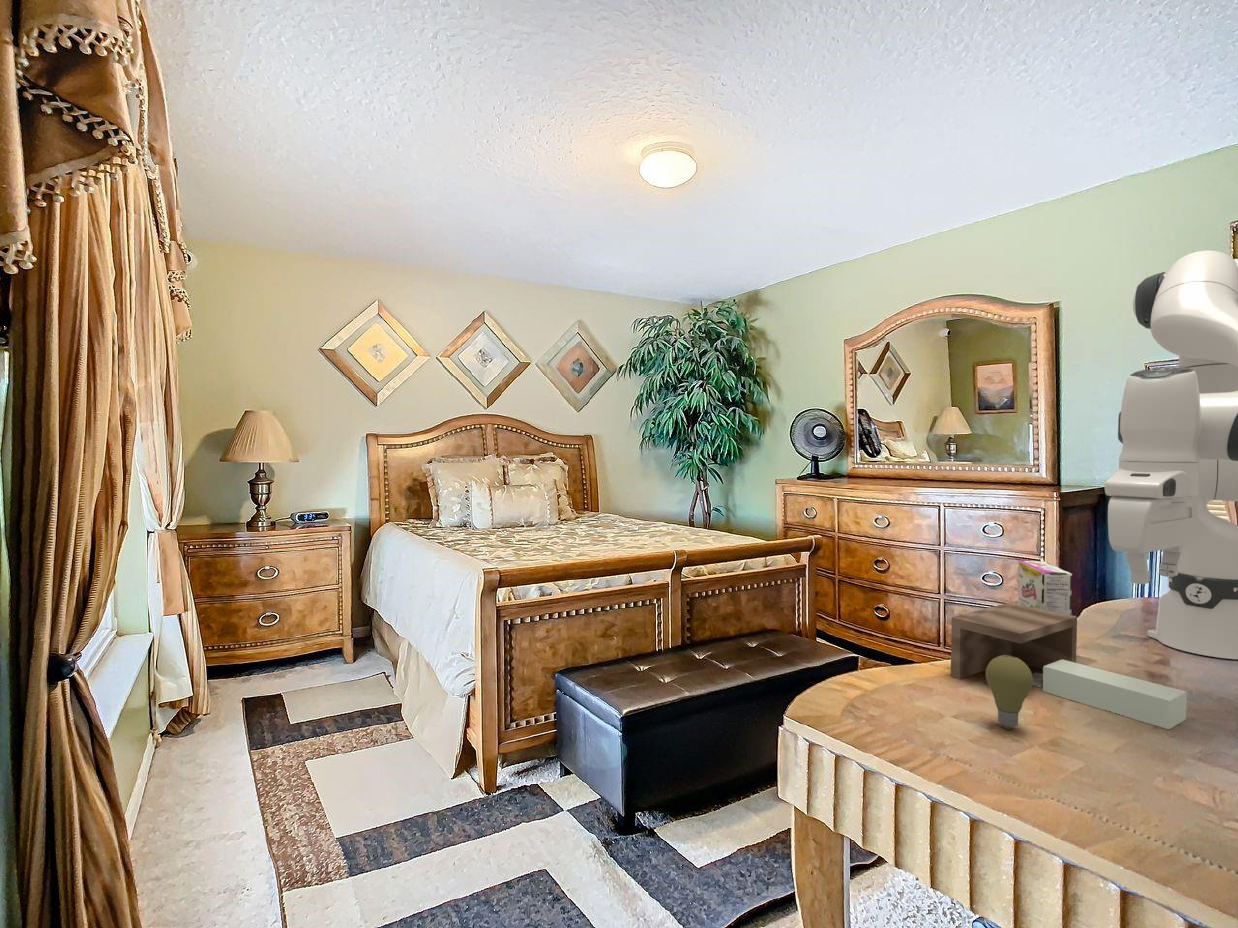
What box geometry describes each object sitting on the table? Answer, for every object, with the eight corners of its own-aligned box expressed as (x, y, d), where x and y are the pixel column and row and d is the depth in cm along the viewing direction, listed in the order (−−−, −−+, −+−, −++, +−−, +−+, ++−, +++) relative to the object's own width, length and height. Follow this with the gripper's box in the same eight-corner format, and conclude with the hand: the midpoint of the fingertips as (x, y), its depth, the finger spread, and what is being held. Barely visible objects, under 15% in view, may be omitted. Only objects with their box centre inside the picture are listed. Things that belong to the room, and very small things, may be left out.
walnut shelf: (1008, 656, 119) (1009, 602, 119) (1075, 675, 110) (1077, 616, 109) (950, 676, 110) (951, 617, 109) (1019, 698, 100) (1020, 633, 100)
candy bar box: (1015, 643, 127) (1017, 559, 126) (1044, 645, 126) (1046, 560, 125) (1040, 663, 116) (1042, 571, 115) (1071, 665, 115) (1074, 572, 114)
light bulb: (1010, 717, 93) (1011, 648, 93) (1041, 735, 88) (1043, 661, 87) (975, 720, 92) (976, 650, 92) (1005, 738, 87) (1006, 664, 86)
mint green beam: (1061, 683, 106) (1062, 659, 106) (1185, 719, 93) (1186, 691, 92) (1042, 691, 103) (1043, 666, 103) (1168, 729, 89) (1169, 700, 89)
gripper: (1160, 479, 100) (1158, 568, 101) (1098, 483, 90) (1096, 583, 90) (1214, 481, 95) (1210, 575, 96) (1155, 485, 84) (1151, 592, 85)
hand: (1154, 579), depth 93 cm, fingers open, 8 cm apart
